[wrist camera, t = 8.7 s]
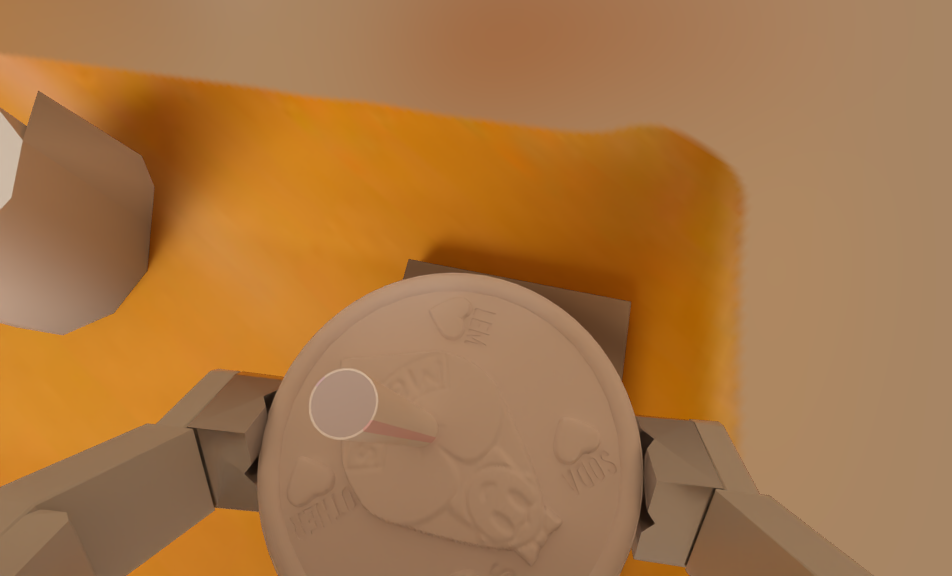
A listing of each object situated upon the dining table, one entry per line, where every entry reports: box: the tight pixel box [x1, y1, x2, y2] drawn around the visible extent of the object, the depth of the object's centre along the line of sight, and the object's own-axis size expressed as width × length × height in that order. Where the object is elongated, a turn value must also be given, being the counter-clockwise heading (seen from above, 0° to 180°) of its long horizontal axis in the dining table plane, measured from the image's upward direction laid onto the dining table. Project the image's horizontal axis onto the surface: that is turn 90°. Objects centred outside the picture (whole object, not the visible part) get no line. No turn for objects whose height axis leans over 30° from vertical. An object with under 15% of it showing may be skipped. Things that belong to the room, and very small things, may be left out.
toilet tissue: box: [0, 91, 155, 335], centre depth 26 cm, size 9×13×9 cm
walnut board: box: [403, 259, 631, 381], centre depth 24 cm, size 18×12×2 cm, turn 168°
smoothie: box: [257, 273, 643, 576], centre depth 10 cm, size 6×6×14 cm
